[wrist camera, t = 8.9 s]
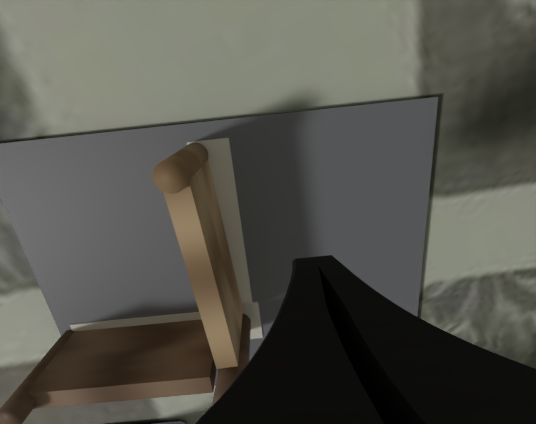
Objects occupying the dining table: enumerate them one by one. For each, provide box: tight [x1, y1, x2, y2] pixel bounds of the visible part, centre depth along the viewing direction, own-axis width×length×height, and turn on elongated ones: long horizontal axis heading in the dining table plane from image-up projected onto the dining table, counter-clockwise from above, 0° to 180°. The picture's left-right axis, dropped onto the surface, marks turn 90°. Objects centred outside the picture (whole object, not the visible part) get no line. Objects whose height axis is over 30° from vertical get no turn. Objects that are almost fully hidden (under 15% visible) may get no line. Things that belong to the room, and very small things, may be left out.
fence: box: [0, 314, 251, 424], centre depth 19 cm, size 14×2×6 cm, turn 96°
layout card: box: [0, 97, 438, 385], centre depth 20 cm, size 20×26×1 cm
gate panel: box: [153, 142, 243, 369], centre depth 17 cm, size 12×1×5 cm, turn 9°
